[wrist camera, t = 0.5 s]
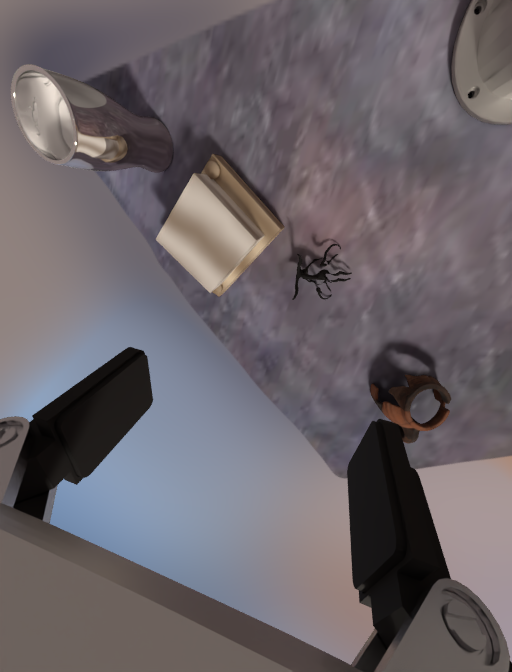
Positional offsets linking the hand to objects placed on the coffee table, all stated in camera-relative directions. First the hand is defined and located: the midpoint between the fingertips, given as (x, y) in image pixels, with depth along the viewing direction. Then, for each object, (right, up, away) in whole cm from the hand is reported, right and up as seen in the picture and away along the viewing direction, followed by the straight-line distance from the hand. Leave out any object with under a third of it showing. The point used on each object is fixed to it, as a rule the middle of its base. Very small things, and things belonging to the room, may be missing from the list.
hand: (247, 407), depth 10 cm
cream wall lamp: (-4, +19, +27) cm, 33 cm away
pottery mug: (+25, -7, +31) cm, 41 cm away
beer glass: (-14, +29, +24) cm, 40 cm away
